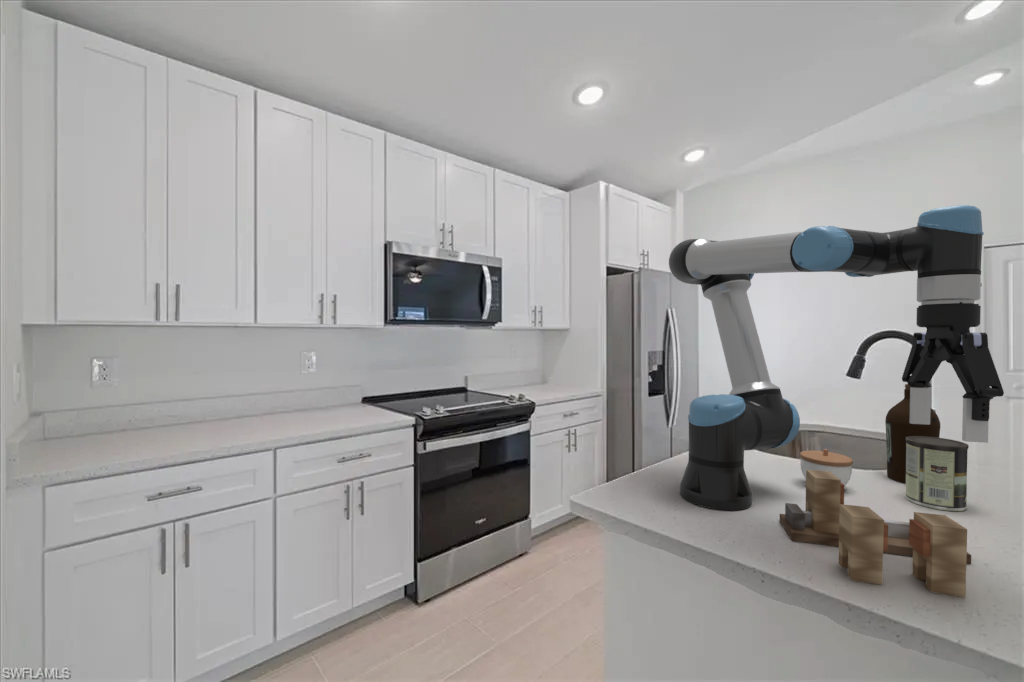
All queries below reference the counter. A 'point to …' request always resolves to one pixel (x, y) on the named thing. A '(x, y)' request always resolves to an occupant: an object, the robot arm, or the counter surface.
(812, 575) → the counter surface
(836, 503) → the block
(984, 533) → the counter surface
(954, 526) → the right finger
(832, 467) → the lidded jar
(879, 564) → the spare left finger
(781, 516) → the rail board
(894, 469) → the olive oil
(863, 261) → the robot arm
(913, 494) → the coffee can
